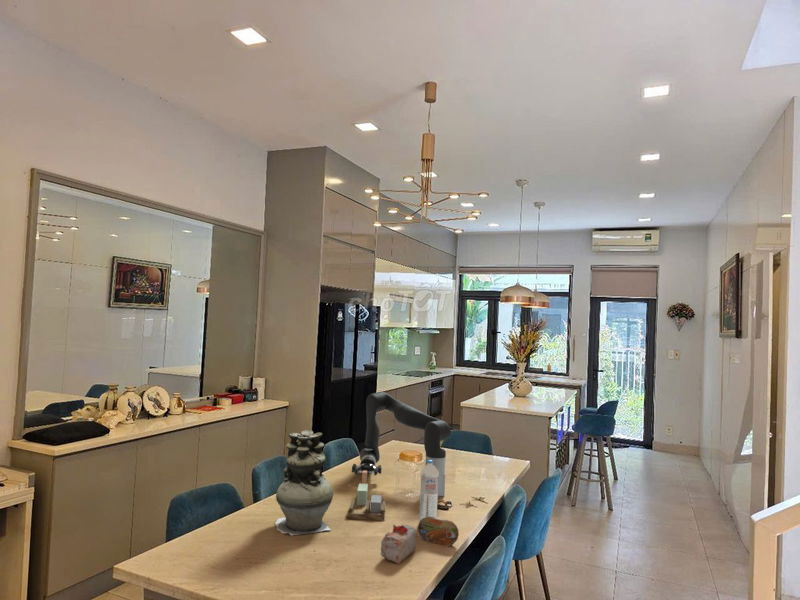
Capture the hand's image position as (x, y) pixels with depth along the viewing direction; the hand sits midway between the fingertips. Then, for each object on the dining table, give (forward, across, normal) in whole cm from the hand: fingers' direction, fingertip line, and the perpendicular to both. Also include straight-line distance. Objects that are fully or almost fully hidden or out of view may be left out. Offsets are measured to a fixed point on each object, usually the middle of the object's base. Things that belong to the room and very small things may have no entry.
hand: (366, 472), depth 251 cm
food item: (+73, +16, +7) cm, 75 cm away
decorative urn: (+51, -20, +7) cm, 55 cm away
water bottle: (+45, +27, +7) cm, 53 cm away
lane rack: (+35, +3, +6) cm, 36 cm away
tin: (+60, +30, +7) cm, 68 cm away
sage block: (+17, 0, +7) cm, 18 cm away
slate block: (+34, +6, +7) cm, 35 cm away
